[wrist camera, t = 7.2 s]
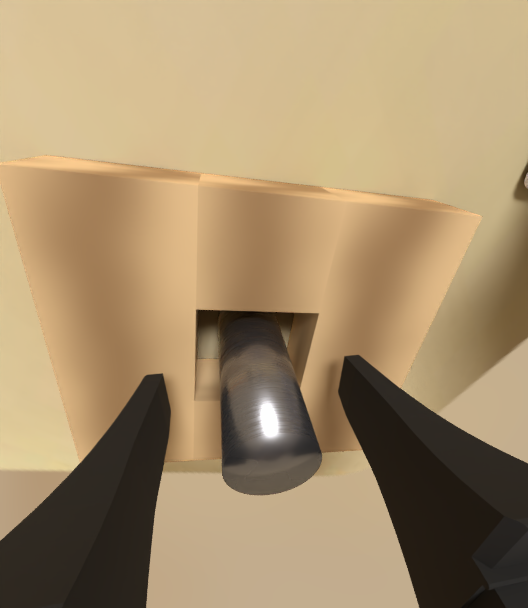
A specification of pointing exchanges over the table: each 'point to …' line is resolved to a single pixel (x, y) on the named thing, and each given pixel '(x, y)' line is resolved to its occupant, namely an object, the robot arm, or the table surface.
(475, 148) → the table surface
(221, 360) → the metal peg
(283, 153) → the table surface
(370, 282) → the oak hole block
